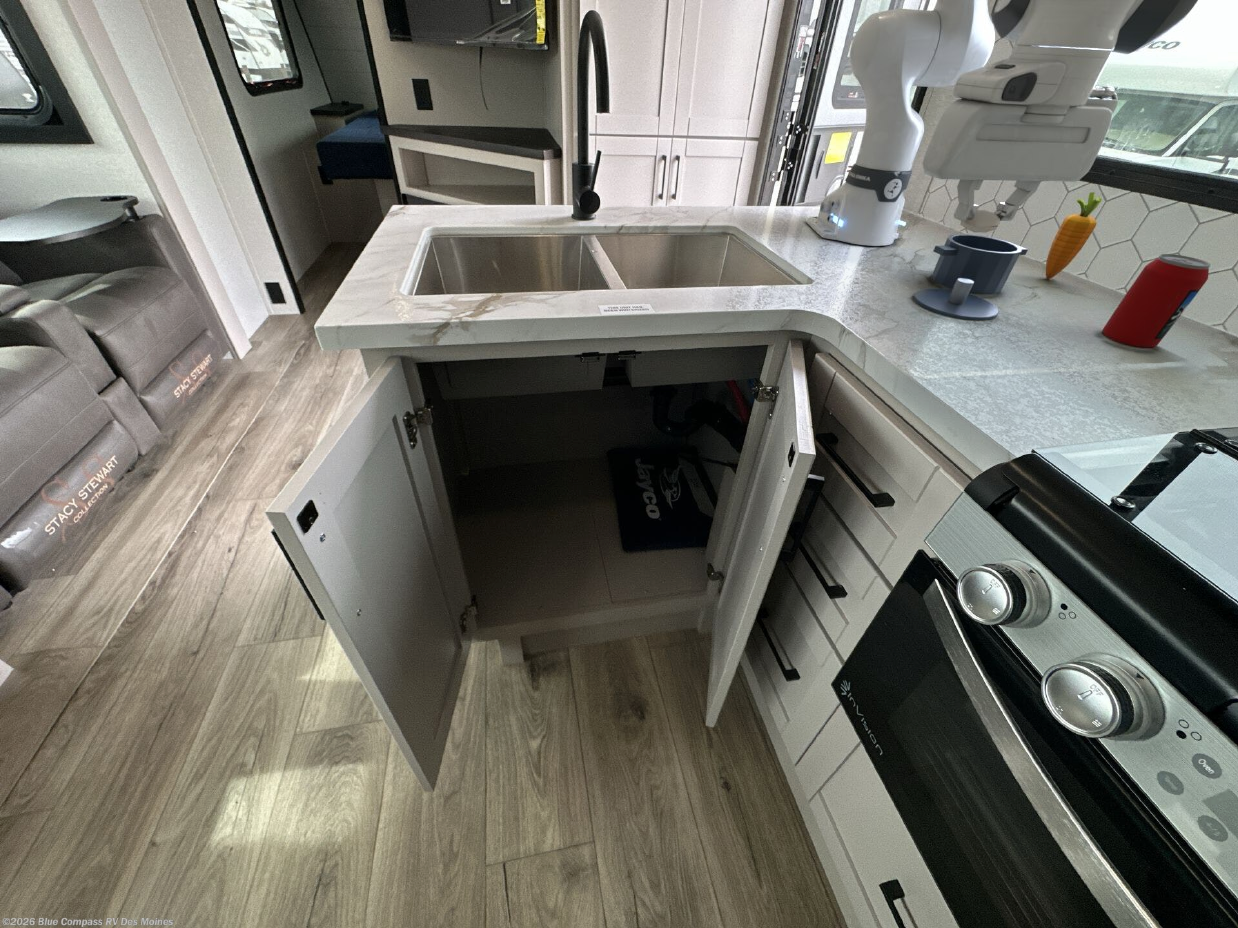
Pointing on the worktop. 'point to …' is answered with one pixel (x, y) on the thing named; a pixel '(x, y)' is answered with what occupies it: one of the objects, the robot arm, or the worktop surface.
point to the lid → (956, 302)
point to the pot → (976, 262)
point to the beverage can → (1156, 300)
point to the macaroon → (982, 222)
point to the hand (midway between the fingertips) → (981, 219)
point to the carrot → (1071, 237)
